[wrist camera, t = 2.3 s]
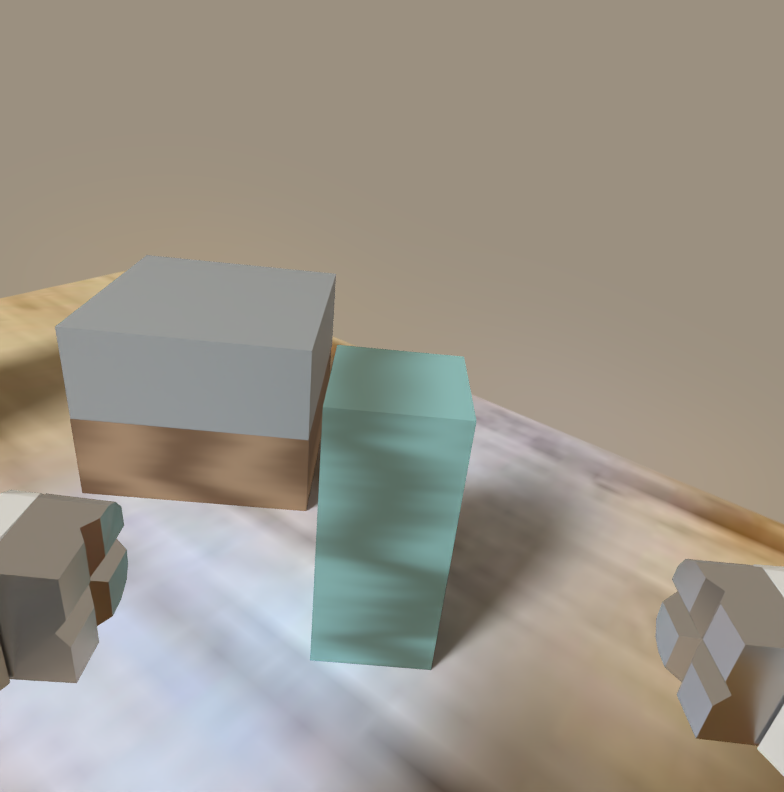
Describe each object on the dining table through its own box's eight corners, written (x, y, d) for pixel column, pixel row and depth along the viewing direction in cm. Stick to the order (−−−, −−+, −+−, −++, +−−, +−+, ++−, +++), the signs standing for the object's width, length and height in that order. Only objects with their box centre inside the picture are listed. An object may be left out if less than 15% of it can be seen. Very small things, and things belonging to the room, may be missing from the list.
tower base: (327, 409, 45) (331, 345, 43) (305, 517, 35) (309, 440, 32) (157, 394, 45) (152, 328, 42) (83, 499, 34) (70, 419, 32)
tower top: (331, 345, 43) (335, 273, 41) (308, 440, 32) (312, 350, 30) (153, 328, 43) (146, 255, 40) (70, 418, 32) (55, 326, 30)
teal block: (427, 581, 31) (464, 356, 25) (431, 669, 26) (476, 420, 21) (323, 573, 31) (337, 344, 25) (310, 660, 26) (322, 406, 20)
